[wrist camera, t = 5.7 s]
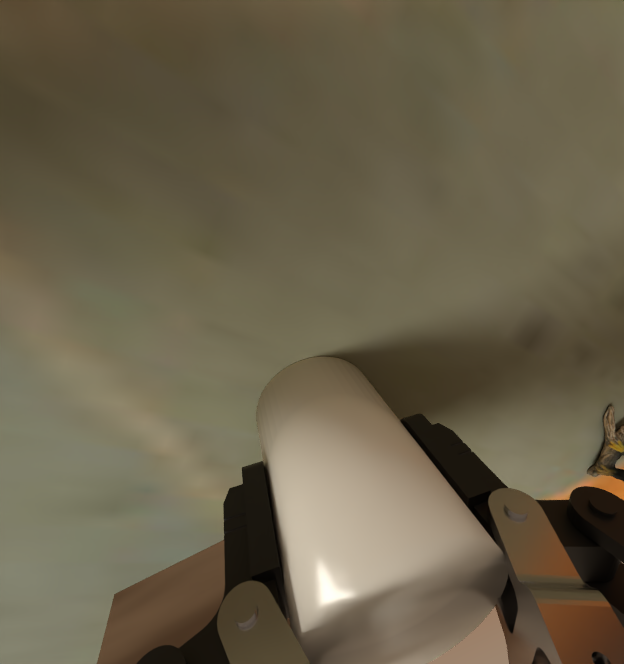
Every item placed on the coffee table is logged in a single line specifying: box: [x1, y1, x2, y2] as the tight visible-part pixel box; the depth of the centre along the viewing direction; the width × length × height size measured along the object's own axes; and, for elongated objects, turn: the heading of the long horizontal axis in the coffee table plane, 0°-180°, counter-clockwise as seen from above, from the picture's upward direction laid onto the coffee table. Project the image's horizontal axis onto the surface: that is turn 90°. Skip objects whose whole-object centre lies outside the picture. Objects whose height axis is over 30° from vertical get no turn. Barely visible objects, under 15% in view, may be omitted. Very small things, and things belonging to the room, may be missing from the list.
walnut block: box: [97, 540, 291, 664], centre depth 17 cm, size 12×12×6 cm
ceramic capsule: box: [256, 356, 508, 664], centre depth 11 cm, size 5×5×8 cm
